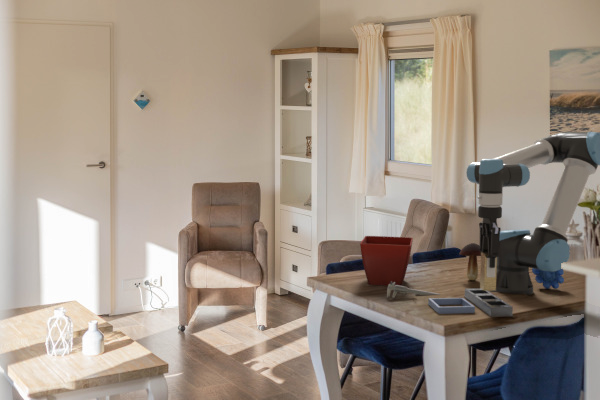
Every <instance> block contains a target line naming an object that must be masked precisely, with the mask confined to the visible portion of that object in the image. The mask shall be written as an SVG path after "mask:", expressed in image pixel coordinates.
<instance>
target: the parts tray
mask: <svg viewBox="0 0 600 400" xmlns="http://www.w3.org/2000/svg"><path fill="white" fill-rule="evenodd" d="M427 304H428V306H429V307H430V308H431V309H433V311H435V312H436V313H437V314H438V315H439V314H442V315H443V314H446V315H447V314H475V313H476V312H475V311H476V307H475V306H476V305H474V304H473V303H472V302H470V301H469V300H468V299H466V298H465V297H443V298H442V297H438V298H433V297H432V298H429V297H428V302H427ZM447 305H448V306H447ZM449 305H451V306H449ZM452 305H455V306H452ZM456 305H459V306H456ZM460 305H461V306H460Z"/></svg>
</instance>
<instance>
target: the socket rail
mask: <svg viewBox="0 0 600 400" xmlns="http://www.w3.org/2000/svg"><path fill="white" fill-rule="evenodd" d="M464 299H465V300H467V301H468V302H469V303H471V304H472V305H473V306H476V307H477V308H478V309H480V310H481V311H483V313H485V314H487V316H489V317H492V318H495V317H496V318H497V317H498V318H499V317H500V318H501V317H513V309H514V308H513V306H512V305H510V304H509V303H508V302H506V301H504V300H503V299H501V298H500V297H498V296H497V295H495V294H493V292H491V291H484V290H482V289H481V288H480V287H479V288H464Z"/></svg>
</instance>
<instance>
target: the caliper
mask: <svg viewBox="0 0 600 400" xmlns="http://www.w3.org/2000/svg"><path fill="white" fill-rule="evenodd" d="M394 285H395V282H394V283H393V284H392V281H391V283H390V284H389V285H388V286H387V289H386V297H387V299H390V297H391V299H395V297H396V295H397V293H399V294H401V295H405V296H406V295H407V293H408V294H413V295H419V296H436V295H437V296H439V295H441V293H436V292H432V291H425V290H420V289H414V288H408V286H405V285H402V286H399V285H395V286H394ZM391 293H392V296H390V295H391Z"/></svg>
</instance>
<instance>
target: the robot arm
mask: <svg viewBox="0 0 600 400" xmlns="http://www.w3.org/2000/svg"><path fill="white" fill-rule="evenodd" d="M553 163H557V164H558V163H561V164H563V165H564V170H563V172H562V174H561V177H560V179H559V182H558V184H557V186H556V189H555V191H554V194H553V196H552V199H551V201H550V204H549V206H548V209H547V211H546V214H545V216H544V219H543V221H542V223H541V224H540V225H538V226H536V227H535V228H534V231H533V233H532V234H531V230H529V229H510V230H509V229H508V230H506V229H505V230H502V229H501V227H499V226H498V221H497V219H501V218H502V213H503V208H502V205H503V197H504V196H503V189H504V188H507V187H509V188H510V187H516V188H518V187H521V186H525V185H527V184H528V183H529V181H530V176H531V172H530V168H533V167H536V166H538V165H545V166H546V165H548V164H553ZM599 166H600V132H597V131H595V132H594V131H563V132H557V133H554V134H552V135H549V136H546V137H543V138H541V139H537V140H536V141H535V142H534V143H533V144H531V145H529V146H526V147H523V148H519V149H518V150H514V151H511V152H508V153H506V154H504V155H501V156H498V157H497V156H496V157H494V158H482V159H481V160H480V161H473V162H471V163H470V164H469V165H467V168H466V177H467V179H468V181H469V182H471V183H473V184H477V185H478V195H477V199H478V204H479V206H478V209H477V211H478V213H477V214H478V215H477V216H478V218H479V219H480V218H481V219H482V222H479V223H478V226H479V246H480V249H479V250H480V252H481V253H488V256H486V258H487V275H486V277H495V266H496V257H497V269H496V290H490V292H491V293H503V294H511V295H512V294H514V295H524V294H525V295H527V296H530V295H533V294H534V286H533V282H532V279H531V275H530V270H529V269H533V268H534V269H539V270H542V271H550V272H555V271H557V270H560V269H561V263H563V262H567V263H568V261H569V259H570V255H571V253H570V251H571V248H570V245H569V243H568V242H569V239H568V237H567V234H566V233H567V231H568V229H569V227H570V224H571V221H572V219H573V216H574V214H575V211H576V210H577V206H578V204H579V201H580V199H581V196H582V194H583V192H584V189H585V186H586V185H587V181H588V180H589V177H590V176H591V175H594V174H595V173H596V171H597V169H598V167H599Z"/></svg>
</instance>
